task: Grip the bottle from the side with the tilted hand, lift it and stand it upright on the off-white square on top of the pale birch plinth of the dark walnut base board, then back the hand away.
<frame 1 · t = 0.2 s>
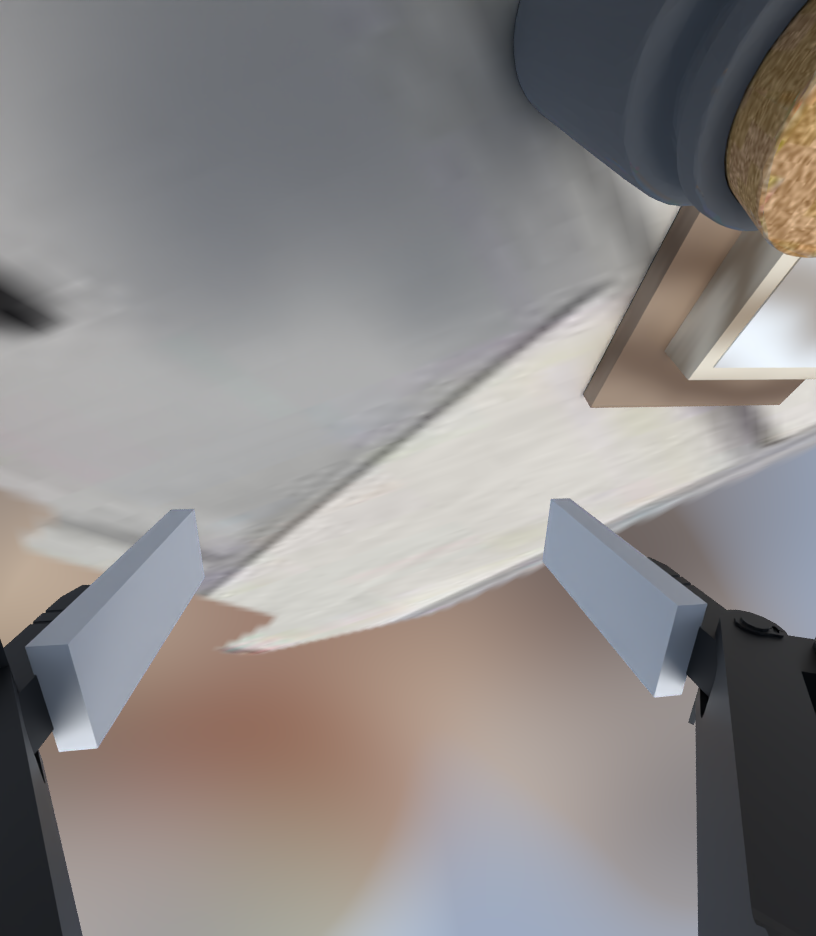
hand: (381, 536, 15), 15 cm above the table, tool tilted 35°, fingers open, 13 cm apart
plinth: (773, 266, 25), on the table
bottle: (584, 22, 16), on the table
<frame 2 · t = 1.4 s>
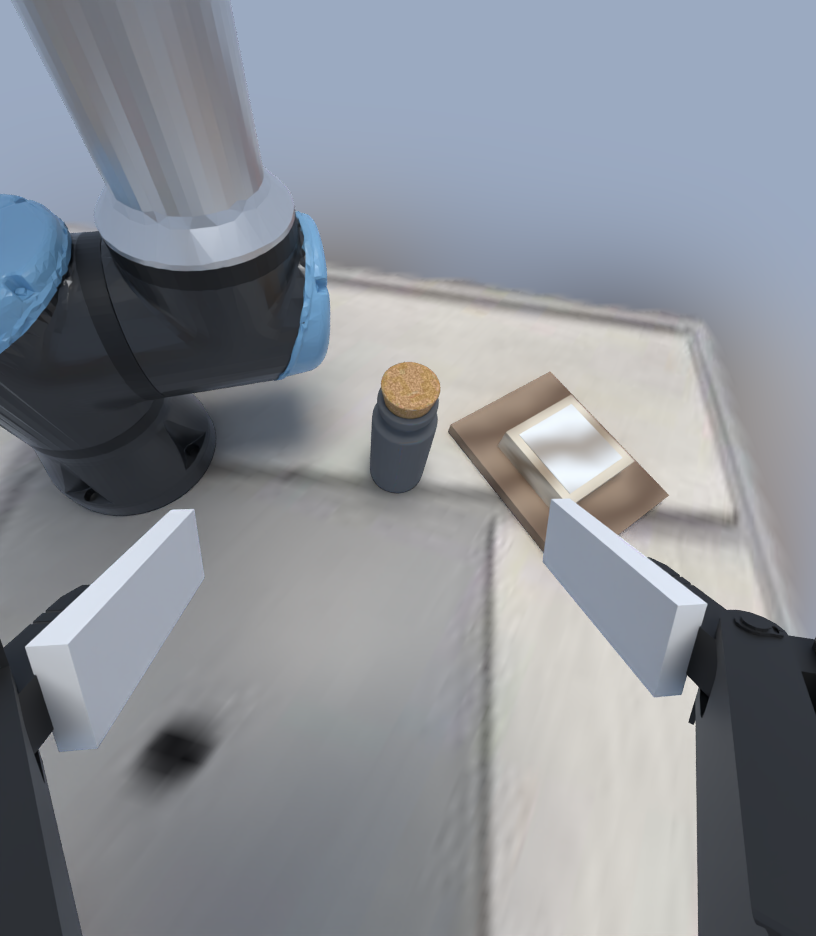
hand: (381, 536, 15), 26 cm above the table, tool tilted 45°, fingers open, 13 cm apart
plinth: (552, 465, 48), on the table
bottle: (396, 470, 46), on the table
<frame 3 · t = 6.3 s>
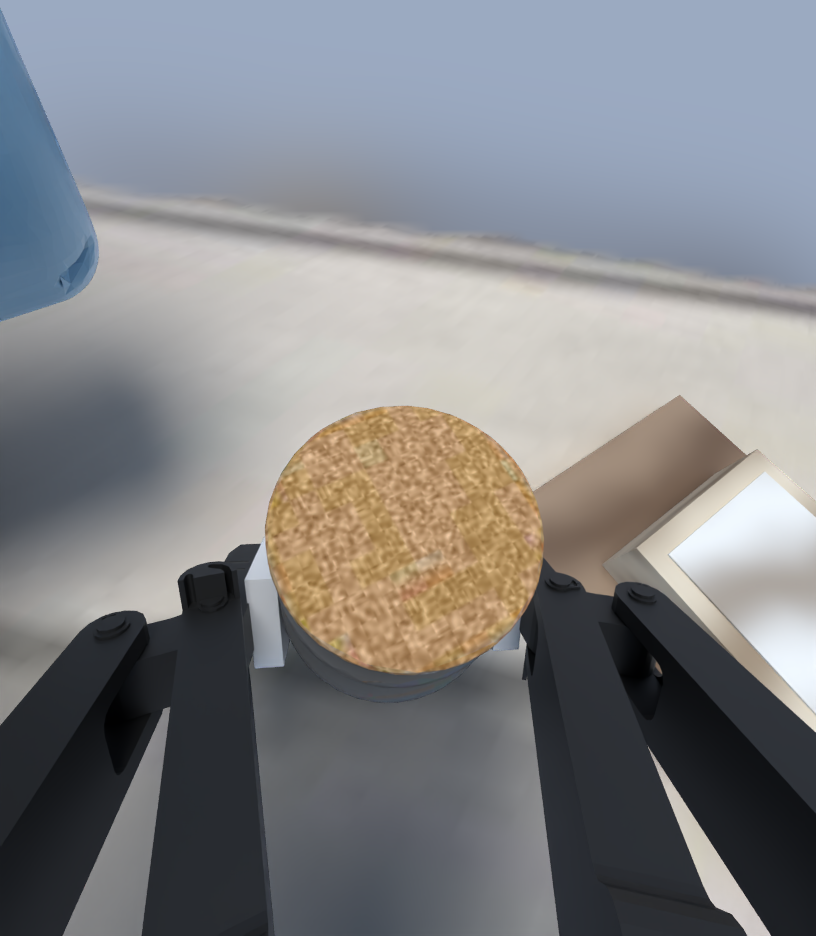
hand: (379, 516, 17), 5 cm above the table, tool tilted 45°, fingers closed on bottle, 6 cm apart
plinth: (714, 598, 22), on the table
bottle: (378, 625, 20), on the table, touching gripper
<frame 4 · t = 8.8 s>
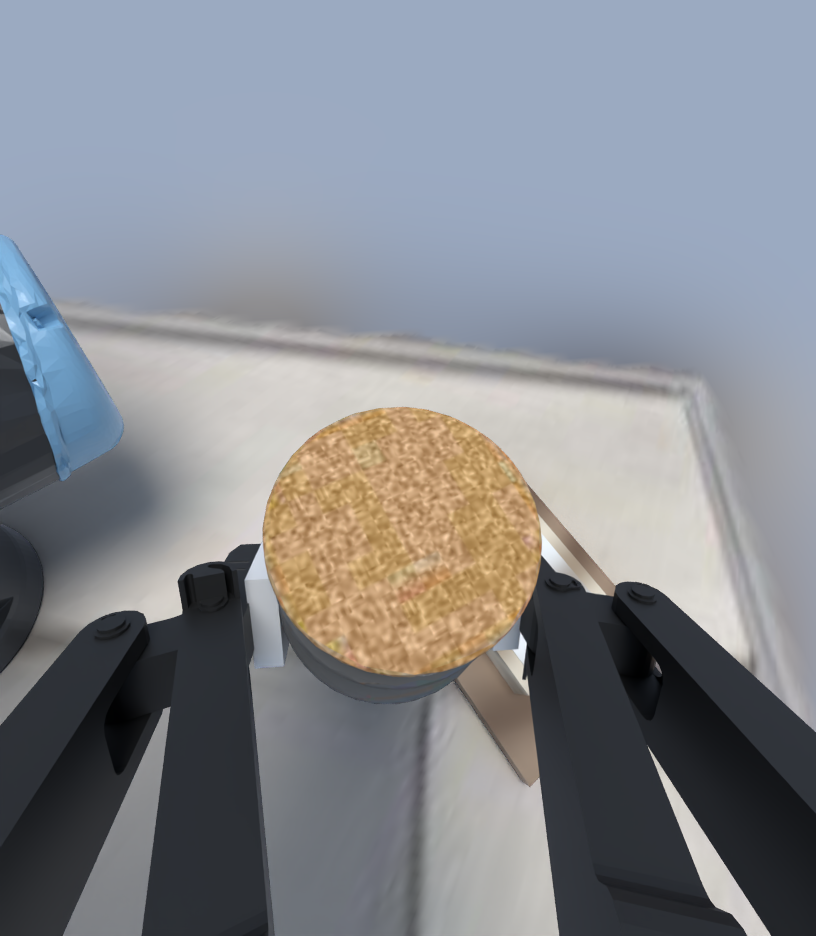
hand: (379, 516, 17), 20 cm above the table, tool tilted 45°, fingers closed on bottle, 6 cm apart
plinth: (512, 601, 36), on the table
bottle: (377, 625, 20), point 15 cm above the table, touching gripper
when the fingers open (11 cm above the table, at t = 11.7 s): bottle drops 1 cm, resting on plinth.
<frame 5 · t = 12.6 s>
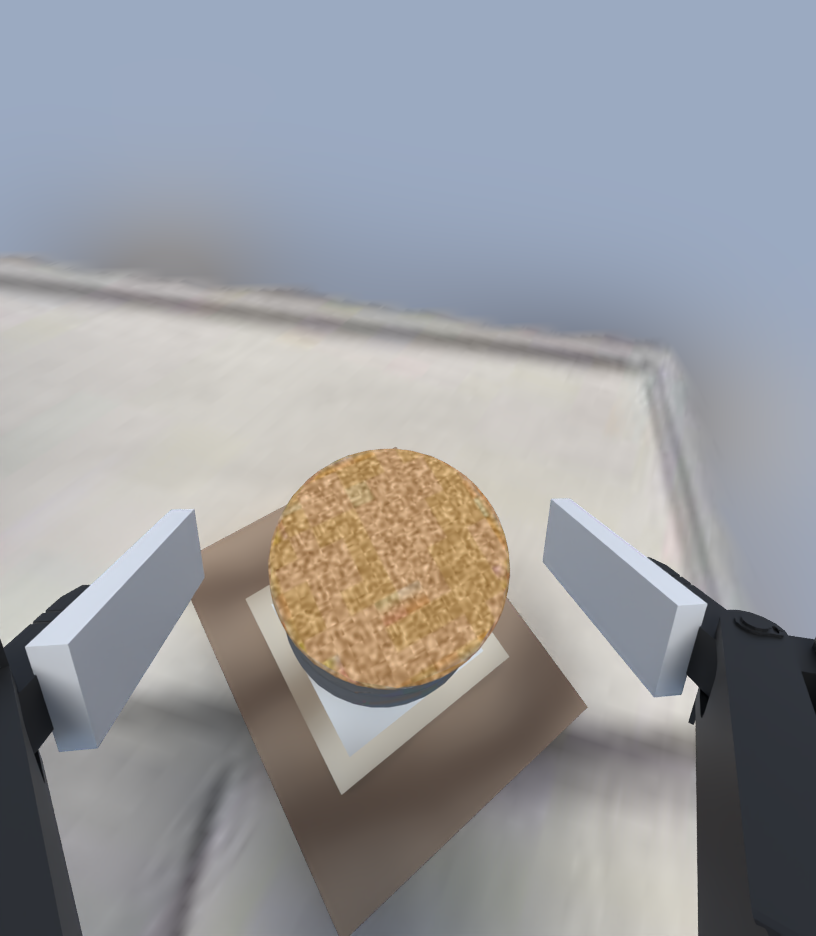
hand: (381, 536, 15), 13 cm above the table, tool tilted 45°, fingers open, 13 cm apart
plinth: (375, 635, 25), on the table
bottle: (376, 629, 21), point 4 cm above the table, touching plinth
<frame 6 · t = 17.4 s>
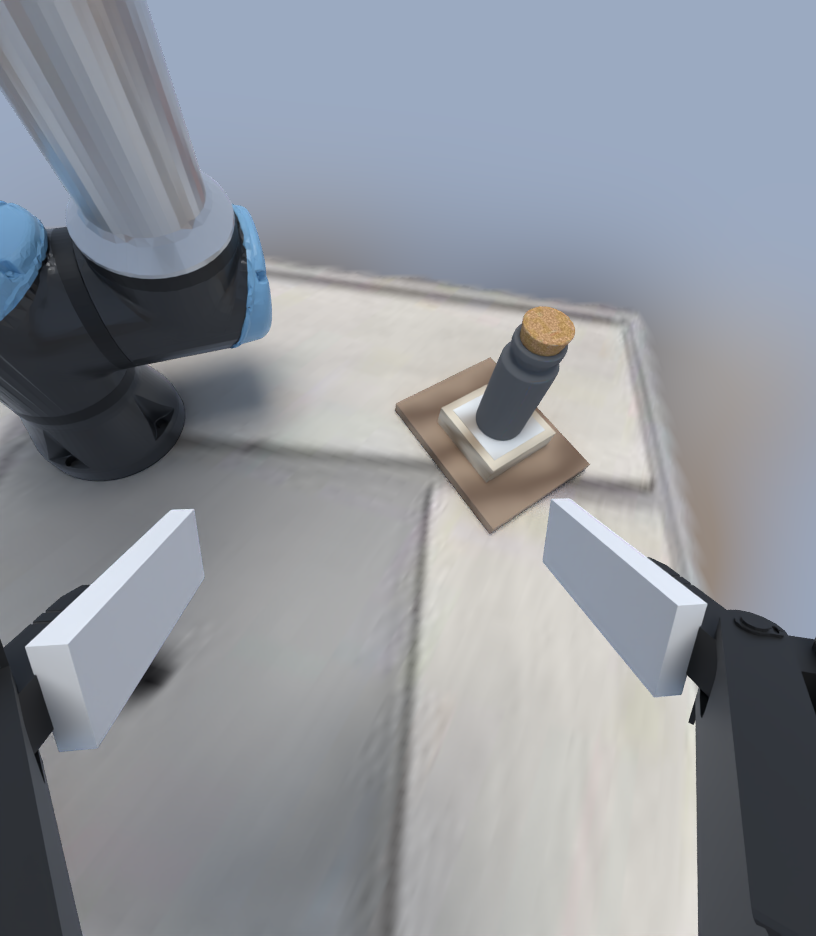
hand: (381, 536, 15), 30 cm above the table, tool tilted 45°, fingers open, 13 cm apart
plinth: (488, 439, 53), on the table
bottle: (498, 421, 49), point 4 cm above the table, touching plinth
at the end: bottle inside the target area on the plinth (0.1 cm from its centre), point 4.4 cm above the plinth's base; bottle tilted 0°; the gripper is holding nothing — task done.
